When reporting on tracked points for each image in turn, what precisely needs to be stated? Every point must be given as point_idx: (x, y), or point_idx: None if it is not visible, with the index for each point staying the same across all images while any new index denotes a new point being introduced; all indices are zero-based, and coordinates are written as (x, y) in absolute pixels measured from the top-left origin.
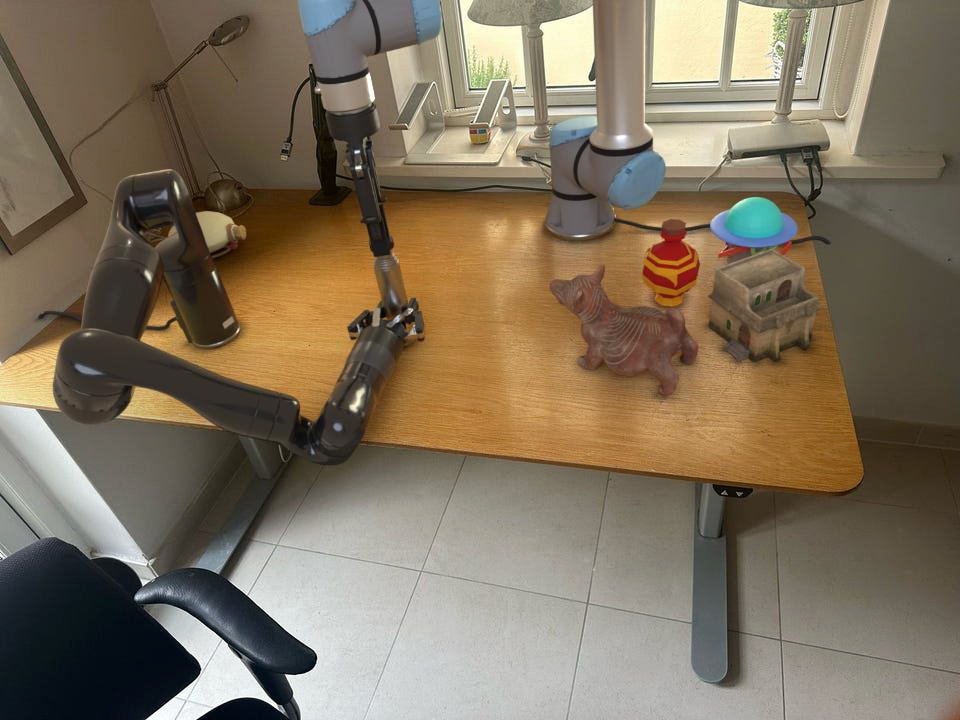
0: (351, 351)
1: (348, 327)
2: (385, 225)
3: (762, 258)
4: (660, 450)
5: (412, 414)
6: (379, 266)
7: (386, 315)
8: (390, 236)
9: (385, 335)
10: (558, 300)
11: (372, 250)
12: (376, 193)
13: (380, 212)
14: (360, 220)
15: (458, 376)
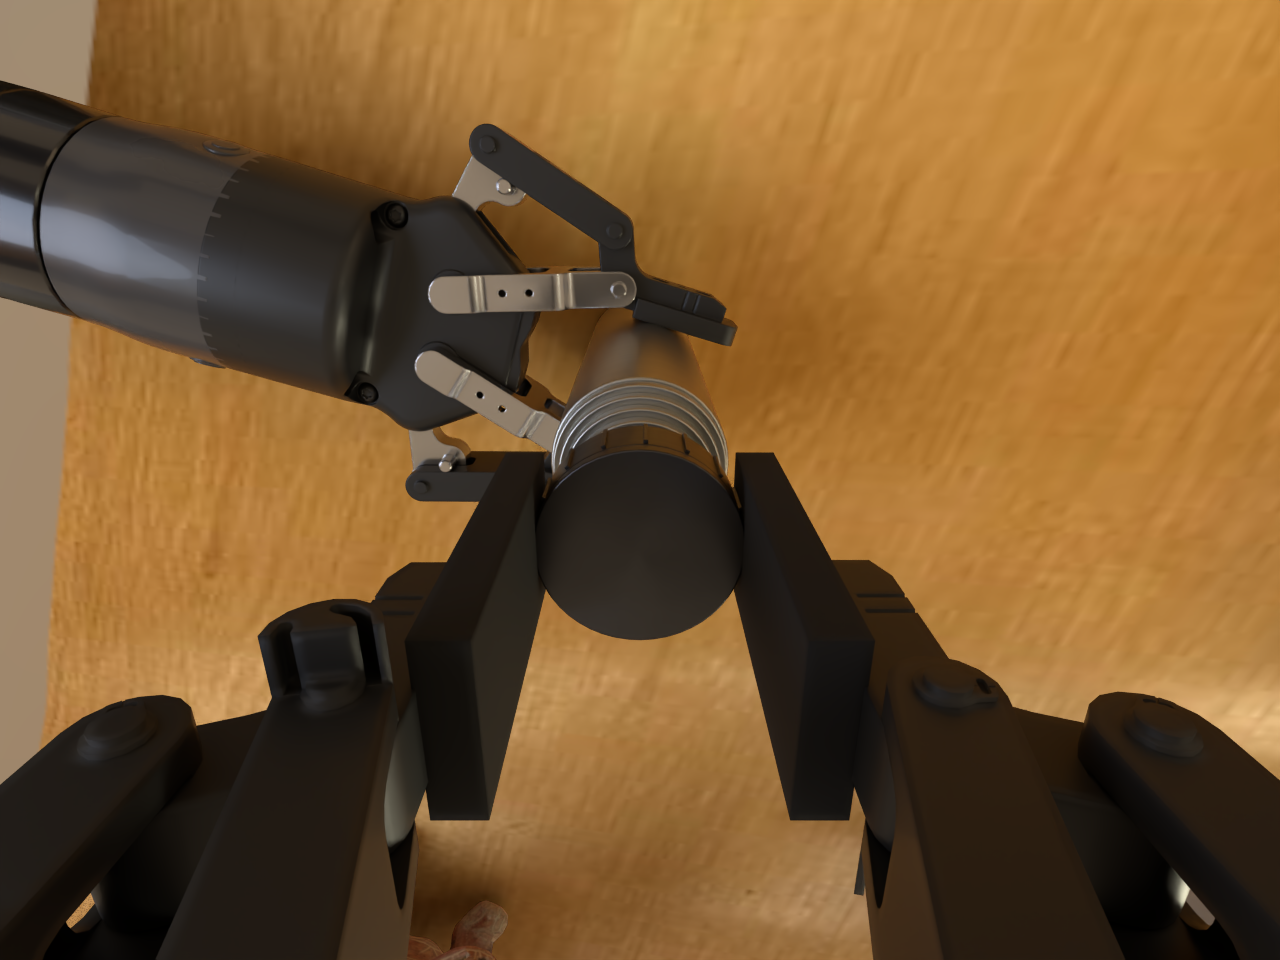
0: (163, 178)
1: (483, 132)
2: (750, 645)
3: None
4: (82, 906)
5: (197, 371)
6: (567, 435)
7: (606, 327)
8: (666, 627)
9: (282, 360)
10: (454, 955)
11: (494, 475)
12: (881, 956)
13: (776, 728)
14: (260, 639)
15: (385, 526)
